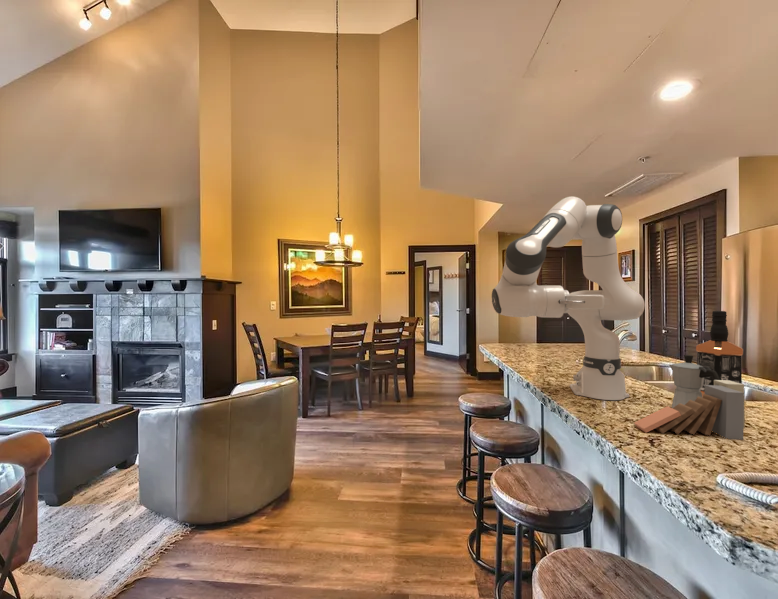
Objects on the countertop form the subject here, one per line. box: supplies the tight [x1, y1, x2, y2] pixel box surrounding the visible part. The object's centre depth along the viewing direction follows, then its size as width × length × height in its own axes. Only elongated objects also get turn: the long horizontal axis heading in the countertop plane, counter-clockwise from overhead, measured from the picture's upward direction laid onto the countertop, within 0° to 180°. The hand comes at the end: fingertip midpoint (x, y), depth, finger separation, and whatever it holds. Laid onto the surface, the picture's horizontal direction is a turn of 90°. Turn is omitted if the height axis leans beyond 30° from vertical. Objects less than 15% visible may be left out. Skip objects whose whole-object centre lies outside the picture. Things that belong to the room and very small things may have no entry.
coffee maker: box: [668, 354, 720, 408], centre depth 120 cm, size 15×9×18 cm, turn 18°
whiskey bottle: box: [695, 310, 744, 398], centre depth 129 cm, size 10×10×32 cm
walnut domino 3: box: [682, 396, 715, 435], centre depth 101 cm, size 1×5×10 cm
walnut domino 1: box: [654, 403, 695, 434], centre depth 102 cm, size 1×5×10 cm
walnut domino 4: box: [696, 394, 722, 437], centre depth 101 cm, size 1×5×10 cm, turn 172°
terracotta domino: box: [633, 405, 681, 433], centre depth 103 cm, size 1×5×10 cm
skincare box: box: [714, 380, 746, 428], centre depth 109 cm, size 6×4×12 cm
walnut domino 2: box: [668, 400, 706, 435], centre depth 102 cm, size 1×5×10 cm
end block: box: [705, 385, 745, 441], centre depth 101 cm, size 8×4×12 cm, turn 173°
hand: (607, 301), depth 101 cm, fingers closed
